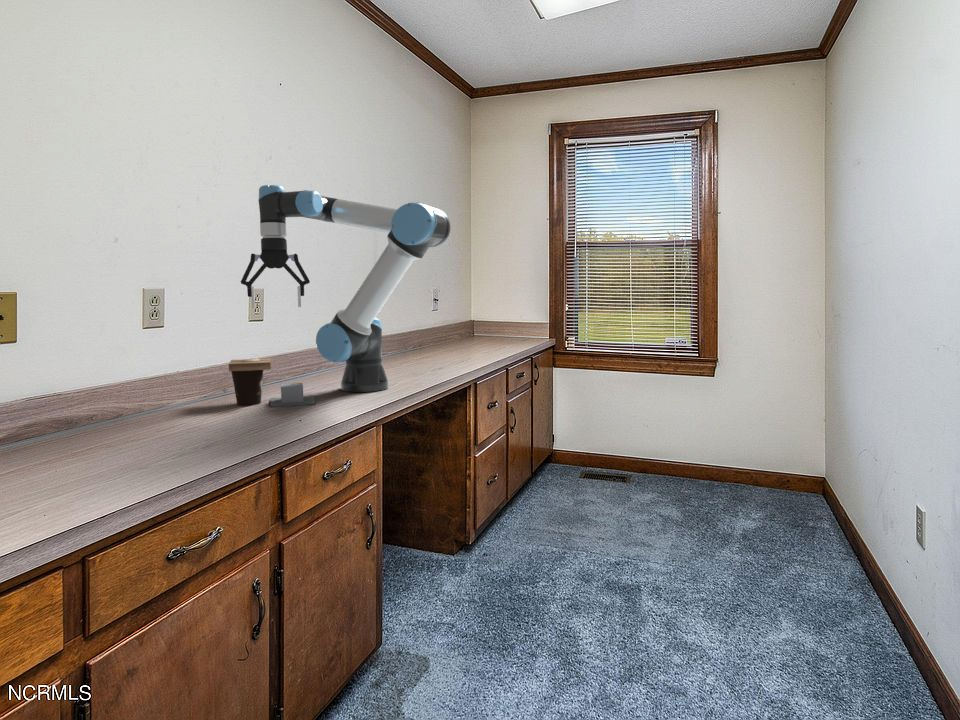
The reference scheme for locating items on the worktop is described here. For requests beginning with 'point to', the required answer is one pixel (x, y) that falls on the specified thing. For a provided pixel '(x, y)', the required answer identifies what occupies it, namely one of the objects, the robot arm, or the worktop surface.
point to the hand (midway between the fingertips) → (276, 307)
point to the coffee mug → (248, 386)
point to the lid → (250, 364)
